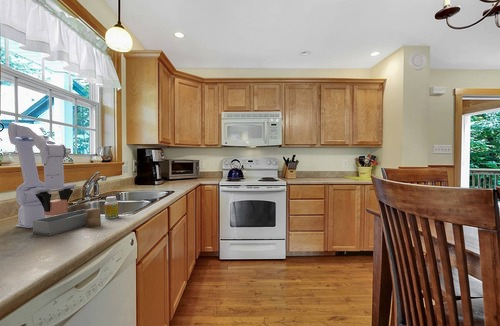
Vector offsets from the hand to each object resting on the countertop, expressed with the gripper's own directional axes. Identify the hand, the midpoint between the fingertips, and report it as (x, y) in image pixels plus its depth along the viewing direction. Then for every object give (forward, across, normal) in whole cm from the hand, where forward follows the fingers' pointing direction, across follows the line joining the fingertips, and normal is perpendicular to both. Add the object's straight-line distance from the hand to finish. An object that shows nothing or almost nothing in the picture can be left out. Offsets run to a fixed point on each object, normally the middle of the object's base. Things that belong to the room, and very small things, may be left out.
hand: (55, 209), depth 87 cm
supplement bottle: (+8, +21, -4) cm, 23 cm away
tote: (+8, +4, 0) cm, 9 cm away
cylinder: (+8, +9, -8) cm, 15 cm away
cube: (+1, 0, 0) cm, 1 cm away
